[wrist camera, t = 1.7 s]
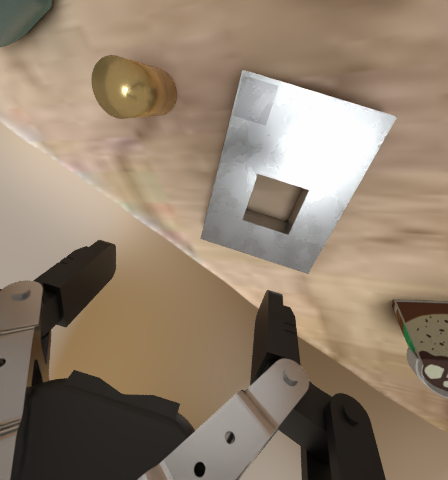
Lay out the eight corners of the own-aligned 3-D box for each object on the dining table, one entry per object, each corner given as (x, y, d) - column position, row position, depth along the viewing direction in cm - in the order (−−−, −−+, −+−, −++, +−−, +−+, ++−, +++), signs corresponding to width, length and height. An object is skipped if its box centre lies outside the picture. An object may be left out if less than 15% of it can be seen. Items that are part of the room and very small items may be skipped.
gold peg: (140, 62, 26) (91, 48, 19) (179, 75, 26) (144, 64, 19) (137, 108, 28) (92, 110, 21) (173, 119, 28) (140, 125, 21)
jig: (246, 73, 25) (238, 65, 19) (381, 115, 24) (410, 118, 19) (207, 226, 34) (194, 248, 29) (305, 258, 33) (310, 286, 28)
